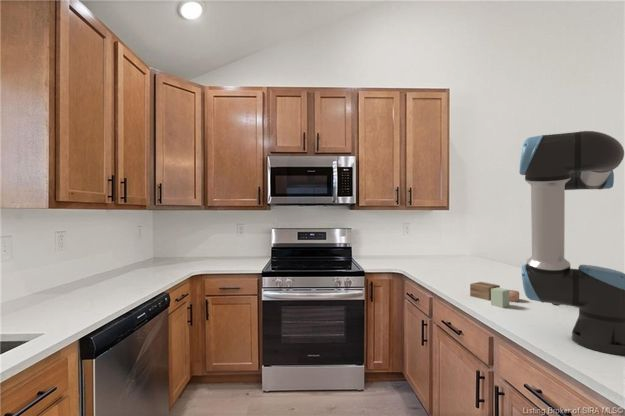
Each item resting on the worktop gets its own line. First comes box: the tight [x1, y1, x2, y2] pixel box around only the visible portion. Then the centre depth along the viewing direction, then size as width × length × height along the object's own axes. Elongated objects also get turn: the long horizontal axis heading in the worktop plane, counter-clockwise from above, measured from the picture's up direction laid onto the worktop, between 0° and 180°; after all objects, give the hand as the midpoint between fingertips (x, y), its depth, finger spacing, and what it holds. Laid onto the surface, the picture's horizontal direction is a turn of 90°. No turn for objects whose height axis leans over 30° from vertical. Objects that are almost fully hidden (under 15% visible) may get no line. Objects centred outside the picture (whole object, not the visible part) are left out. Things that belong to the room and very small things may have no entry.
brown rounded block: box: [508, 289, 520, 303], centre depth 152 cm, size 7×7×4 cm
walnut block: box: [469, 281, 501, 301], centre depth 158 cm, size 9×9×6 cm
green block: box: [490, 287, 510, 309], centre depth 143 cm, size 5×5×7 cm
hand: (551, 256), depth 141 cm, fingers open, 13 cm apart
